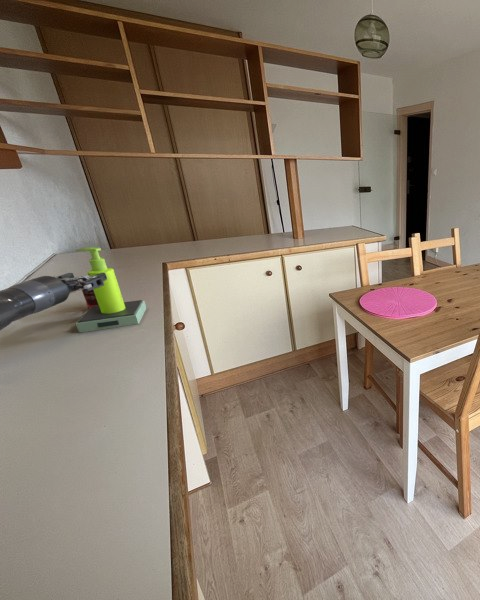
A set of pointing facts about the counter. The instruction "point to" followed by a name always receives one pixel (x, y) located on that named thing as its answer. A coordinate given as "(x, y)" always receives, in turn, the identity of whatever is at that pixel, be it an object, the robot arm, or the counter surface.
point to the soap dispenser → (105, 284)
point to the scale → (111, 317)
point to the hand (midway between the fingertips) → (88, 276)
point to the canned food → (89, 296)
